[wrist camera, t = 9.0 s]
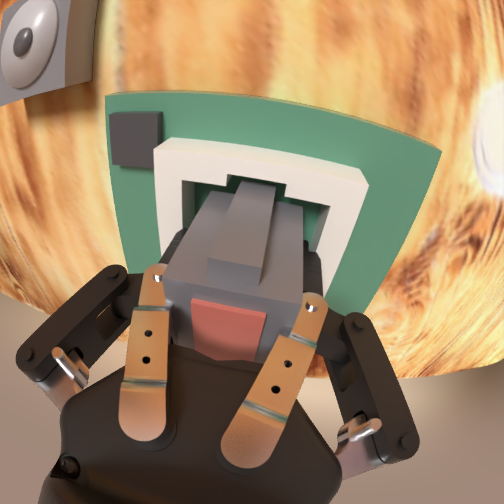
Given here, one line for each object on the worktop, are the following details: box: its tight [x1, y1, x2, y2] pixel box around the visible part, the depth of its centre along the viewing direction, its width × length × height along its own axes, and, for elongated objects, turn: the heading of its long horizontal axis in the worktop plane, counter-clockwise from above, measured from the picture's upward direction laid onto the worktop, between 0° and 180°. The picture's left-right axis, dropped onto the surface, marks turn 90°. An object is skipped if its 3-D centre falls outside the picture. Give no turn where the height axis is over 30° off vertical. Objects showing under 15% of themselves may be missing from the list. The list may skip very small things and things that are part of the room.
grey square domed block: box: [0, 0, 98, 106], centre depth 8 cm, size 8×8×3 cm
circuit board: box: [105, 90, 442, 316], centre depth 15 cm, size 18×14×3 cm
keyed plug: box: [162, 180, 303, 364], centre depth 12 cm, size 4×6×6 cm
